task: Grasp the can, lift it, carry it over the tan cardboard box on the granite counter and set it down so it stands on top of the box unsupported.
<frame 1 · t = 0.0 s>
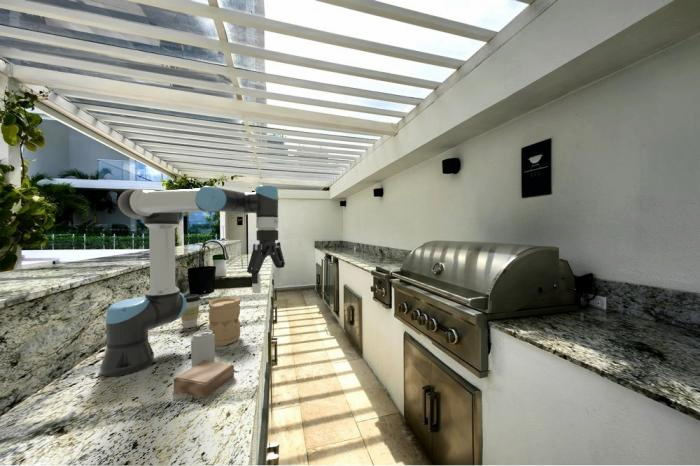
hand: (267, 288, 98), 28 cm above the countertop, fingers open, 13 cm apart
container: (225, 341, 121), on the countertop
coffee cup: (189, 326, 140), on the countertop
can: (203, 365, 99), on the countertop
tan cardboard box: (205, 383, 87), on the countertop
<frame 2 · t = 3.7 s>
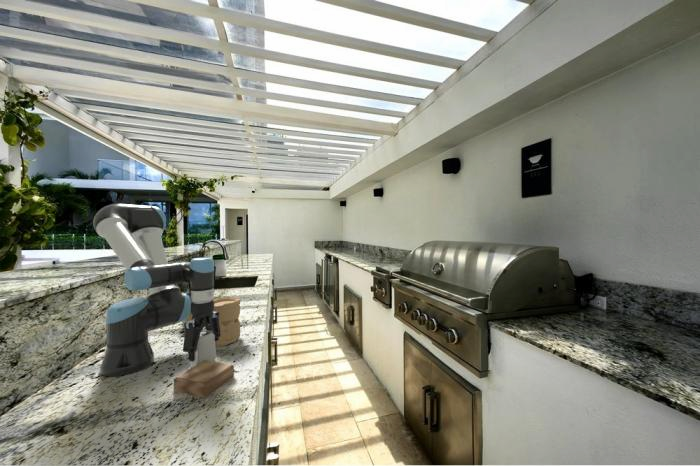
hand: (203, 363, 99), 1 cm above the countertop, fingers closed on can, 7 cm apart
can: (203, 365, 99), on the countertop, touching gripper
everything else where it was.
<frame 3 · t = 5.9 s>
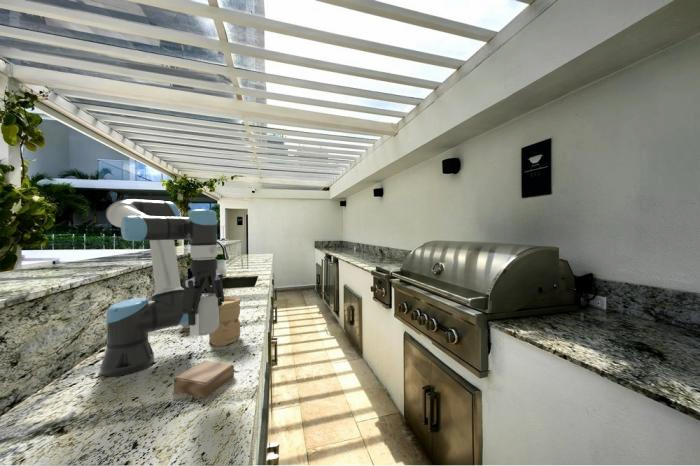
hand: (205, 329, 87), 17 cm above the countertop, fingers closed on can, 7 cm apart
can: (205, 332, 87), point 16 cm above the countertop, touching gripper
everything else where it was.
when the fingers open (6 cm above the countertop, at t = 8.3 s): can drops 1 cm, resting on tan cardboard box.
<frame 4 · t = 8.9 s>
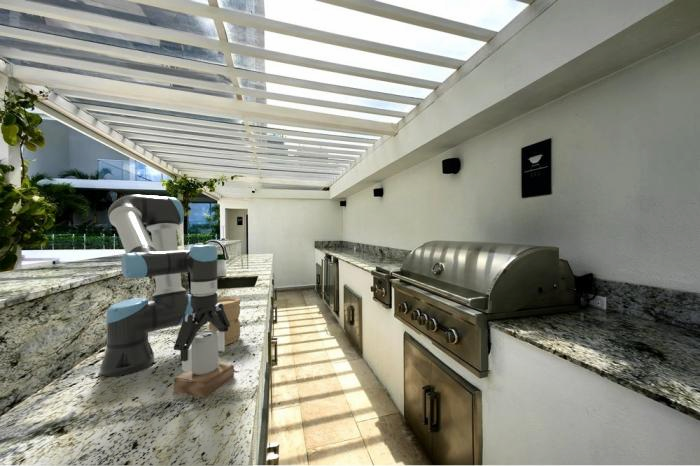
hand: (205, 359, 87), 8 cm above the countertop, fingers open, 13 cm apart
can: (205, 371, 87), point 4 cm above the countertop, touching tan cardboard box
everything else where it was.
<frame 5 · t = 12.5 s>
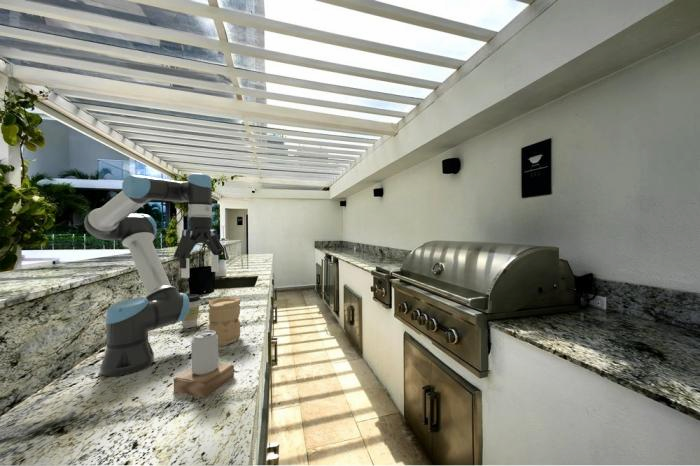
hand: (201, 274, 100), 33 cm above the countertop, fingers open, 13 cm apart
nothing on the countertop moved.
at the end: can inside the target area on the tan cardboard box (0.0 cm from its centre), point 4.1 cm above the tan cardboard box's base; can tilted 0°; the gripper is holding nothing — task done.
